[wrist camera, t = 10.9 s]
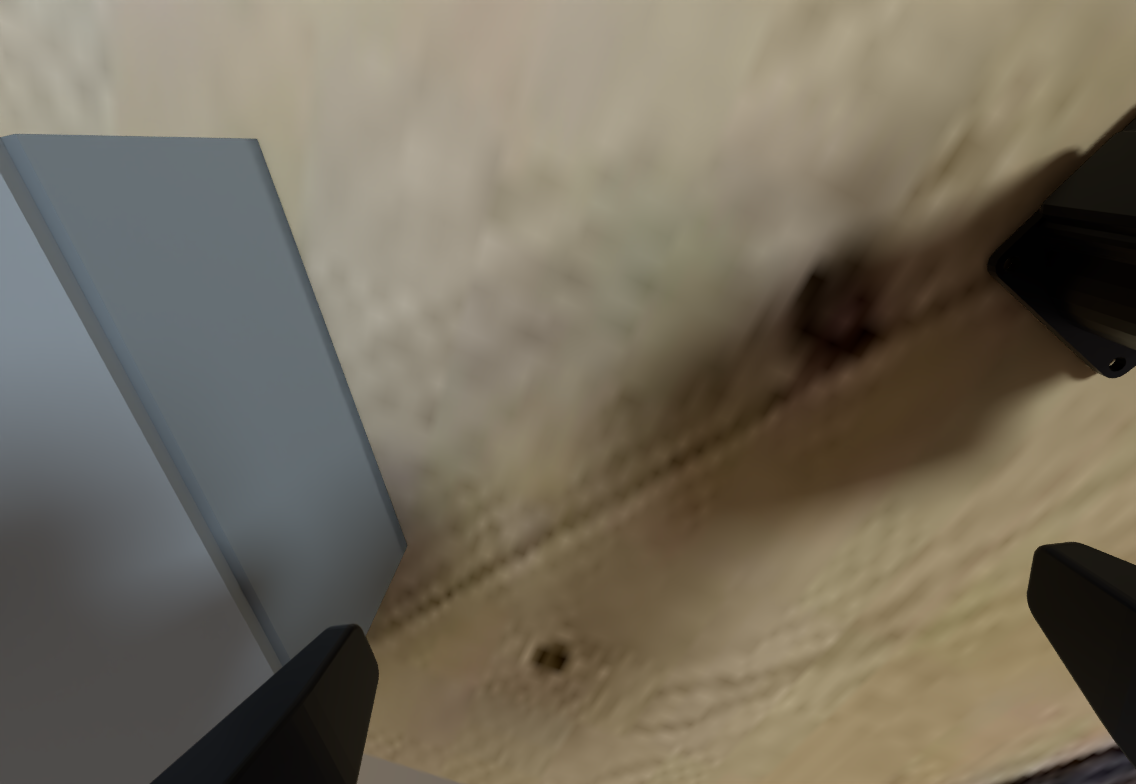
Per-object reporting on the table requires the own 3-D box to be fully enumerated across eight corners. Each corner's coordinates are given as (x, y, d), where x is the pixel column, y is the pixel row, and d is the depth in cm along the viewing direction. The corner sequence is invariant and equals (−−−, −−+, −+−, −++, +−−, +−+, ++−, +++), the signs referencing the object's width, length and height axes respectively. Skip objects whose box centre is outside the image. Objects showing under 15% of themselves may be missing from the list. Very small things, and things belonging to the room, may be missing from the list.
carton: (256, 139, 18) (16, 133, 10) (407, 546, 24) (324, 724, 16) (-20, 199, 19) (-417, 234, 11) (193, 573, 25) (26, 751, 18)
